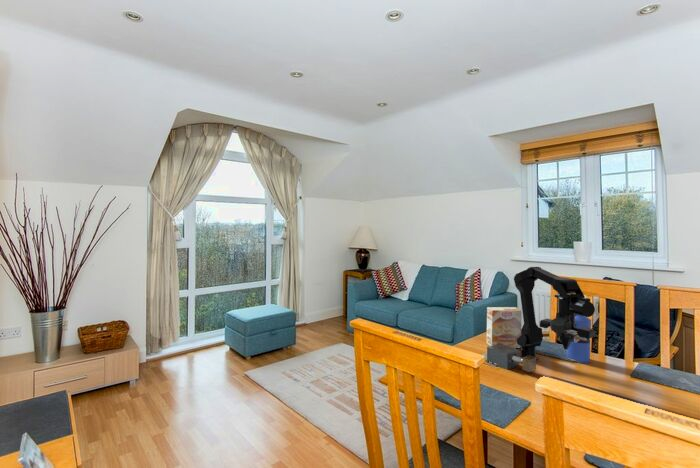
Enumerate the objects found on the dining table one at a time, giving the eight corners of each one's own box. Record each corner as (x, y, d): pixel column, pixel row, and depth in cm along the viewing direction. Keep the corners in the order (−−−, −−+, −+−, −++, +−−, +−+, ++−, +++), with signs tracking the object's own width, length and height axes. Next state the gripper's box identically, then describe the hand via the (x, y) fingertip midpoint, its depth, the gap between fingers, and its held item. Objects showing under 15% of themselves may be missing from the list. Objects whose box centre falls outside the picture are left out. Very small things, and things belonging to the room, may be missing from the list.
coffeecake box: (491, 349, 174) (492, 310, 173) (486, 344, 181) (486, 306, 180) (521, 348, 174) (522, 310, 173) (514, 343, 181) (515, 306, 181)
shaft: (497, 355, 161) (497, 345, 161) (536, 369, 146) (536, 357, 145) (490, 358, 158) (490, 347, 158) (529, 372, 143) (529, 360, 143)
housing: (499, 357, 162) (499, 343, 162) (519, 364, 154) (519, 349, 154) (486, 361, 157) (487, 346, 157) (507, 369, 149) (507, 353, 149)
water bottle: (565, 354, 166) (566, 302, 166) (589, 358, 162) (590, 304, 161) (566, 361, 158) (567, 306, 158) (591, 365, 154) (592, 308, 153)
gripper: (532, 308, 143) (531, 346, 143) (582, 318, 127) (581, 361, 127) (546, 305, 149) (546, 341, 149) (596, 314, 133) (595, 355, 133)
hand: (565, 349), depth 140 cm, fingers closed
